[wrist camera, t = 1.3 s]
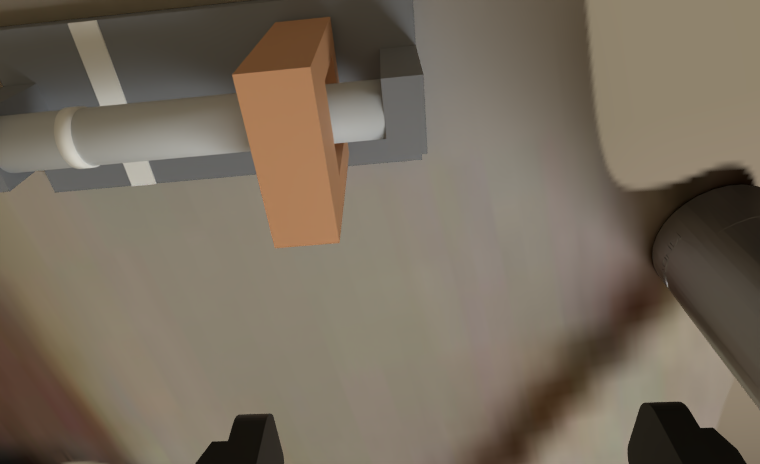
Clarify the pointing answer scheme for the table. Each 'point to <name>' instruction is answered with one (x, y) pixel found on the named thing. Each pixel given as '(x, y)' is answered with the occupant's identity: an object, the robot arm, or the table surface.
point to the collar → (295, 131)
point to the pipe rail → (192, 91)
